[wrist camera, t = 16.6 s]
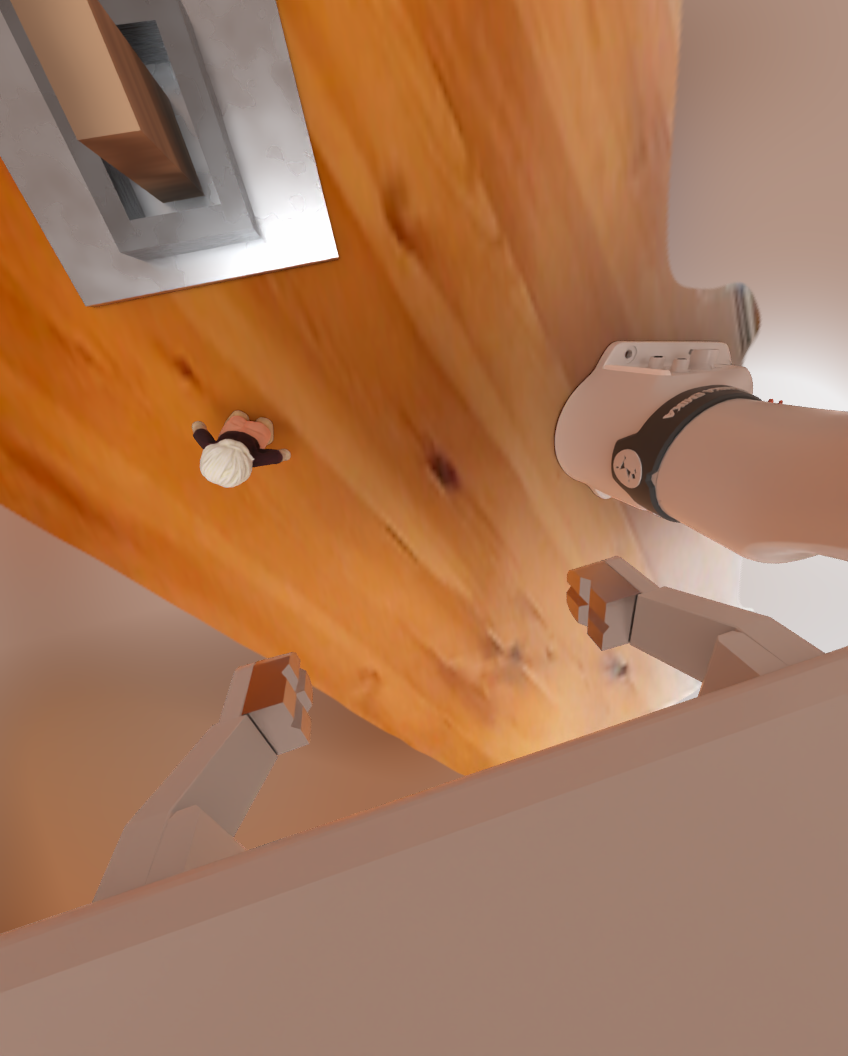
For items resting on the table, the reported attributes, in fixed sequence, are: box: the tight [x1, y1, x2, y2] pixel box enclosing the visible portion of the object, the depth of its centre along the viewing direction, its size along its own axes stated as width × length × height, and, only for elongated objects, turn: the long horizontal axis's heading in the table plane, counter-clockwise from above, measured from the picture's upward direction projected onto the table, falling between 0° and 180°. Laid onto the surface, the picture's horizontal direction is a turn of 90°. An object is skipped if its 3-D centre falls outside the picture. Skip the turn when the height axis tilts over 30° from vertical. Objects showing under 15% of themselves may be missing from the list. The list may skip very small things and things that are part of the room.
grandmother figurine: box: [192, 410, 291, 488], centre depth 30 cm, size 8×4×13 cm, turn 79°
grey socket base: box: [0, 0, 338, 307], centre depth 24 cm, size 20×15×5 cm
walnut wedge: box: [10, 0, 205, 203], centre depth 21 cm, size 3×5×10 cm, turn 10°
